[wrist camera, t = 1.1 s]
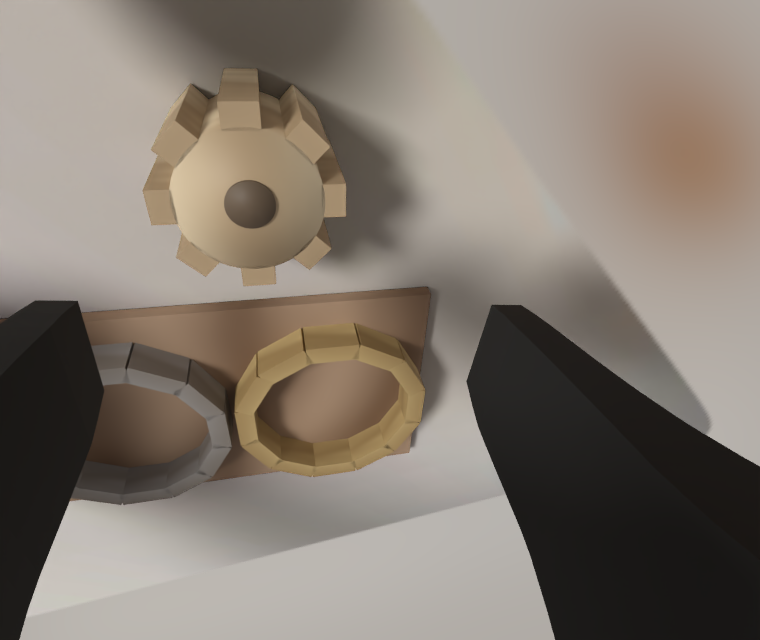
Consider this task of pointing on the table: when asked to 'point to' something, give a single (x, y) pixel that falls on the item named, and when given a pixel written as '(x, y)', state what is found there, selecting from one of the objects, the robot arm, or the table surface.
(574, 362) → the robot arm
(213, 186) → the gear
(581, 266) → the table surface
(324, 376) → the gear board
